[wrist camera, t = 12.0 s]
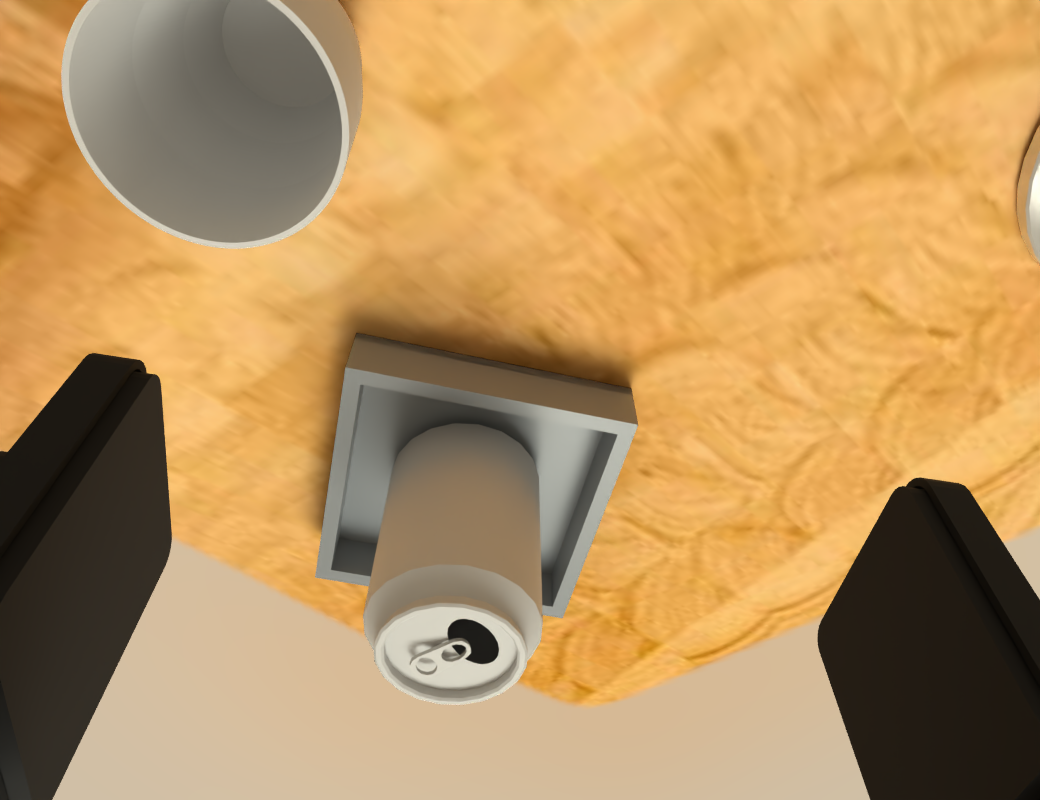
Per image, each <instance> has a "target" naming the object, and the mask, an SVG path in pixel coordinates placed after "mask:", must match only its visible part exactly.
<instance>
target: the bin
mask: <svg viewBox="0 0 1040 800" xmlns="http://www.w3.org/2000/svg"><path fill="white" fill-rule="evenodd" d="M454 423H459V424H479V425H482V426H486V427H489V428H492V429H495V430H499V431H502V432H503V433H505V434H506V435H508V436H509V437H511V438H513V439H514V440H516V441H517V442H519V443H520V444H521V445H522V446H523V447H524V449H525V450H526V451H527V452H528V454H529V455H530V456H531V457H532V458H533V460H534V463H535V466H536V469H537V472H538V475H539V498H540V538H541V579H542V615H546V616H552V617H558V618H563V616H564V613H565V610H566V608H567V605H568V603H569V600H570V598H571V595H572V593H573V590H574V587H575V585H576V582H577V580H578V577H579V575H580V572H581V570H582V567H583V564H584V562H585V559H586V557H587V554H588V552H589V549H590V547H591V544H592V542H593V539H594V536H595V534H596V531H597V529H598V526H599V524H600V521H601V519H602V516H603V513H604V511H605V508H606V506H607V503H608V501H609V498H610V496H611V493H612V490H613V488H614V485H615V483H616V480H617V478H618V475H619V473H620V470H621V467H622V465H623V462H624V460H625V457H626V455H627V452H628V450H629V447H630V444H631V442H632V439H633V437H634V434H635V432H636V429H637V427H638V421H637V416H636V411H635V405H634V400H633V394H632V389H631V388H626V387H621V386H616V385H611V384H606V383H601V382H596V381H591V380H586V379H581V378H576V377H571V376H566V375H562V374H557V373H552V372H547V371H542V370H537V369H532V368H527V367H522V366H517V365H512V364H507V363H502V362H497V361H492V360H488V359H483V358H478V357H473V356H468V355H463V354H458V353H453V352H448V351H443V350H438V349H433V348H428V347H423V346H418V345H413V344H409V343H404V342H399V341H394V340H389V339H384V338H379V337H374V336H369V335H364V334H359V333H356V336H355V339H354V342H353V345H352V349H351V352H350V355H349V358H348V361H347V364H346V368H345V375H344V382H343V389H342V396H341V402H340V409H339V416H338V423H337V430H336V437H335V444H334V451H333V458H332V465H331V472H330V479H329V485H328V492H327V499H326V506H325V513H324V520H323V527H322V534H321V541H320V548H319V555H318V562H317V569H316V575H315V577H316V578H322V579H328V580H334V581H340V582H346V583H352V584H358V585H364V586H369V584H370V579H371V574H372V569H373V564H374V558H375V553H376V548H377V543H378V538H379V533H380V528H381V523H382V518H383V513H384V508H385V503H386V498H387V493H388V488H389V483H390V478H391V472H392V469H393V466H394V464H395V461H396V459H397V456H398V453H399V452H400V451H401V450H402V449H403V448H404V447H405V446H406V445H407V444H408V443H409V442H410V440H411V439H413V438H415V437H416V436H418V435H420V434H422V433H424V432H426V431H427V430H429V429H431V428H435V427H440V426H444V425H449V424H454Z"/></svg>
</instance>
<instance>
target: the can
mask: <svg viewBox="0 0 1040 800" xmlns="http://www.w3.org/2000/svg"><path fill="white" fill-rule="evenodd" d="M363 619H364V632H365V636H366V638H367V640H368V641H369V643H370V645H371V647H372V649H373V650H374V661H375V663H376V665H377V667H378V669H379V670H380V672H381V674H382V676H383V677H384V678H385V679H386V680H388V681H389V682H390V683H391V684H392V685H393V686H394V687H396V688H397V689H398V690H400V691H402V692H404V693H406V694H408V695H410V696H412V697H415V698H417V699H420V700H425V701H428V702H433V703H437V704H455V705H456V704H457V705H463V704H469V703H475V702H480V701H484V700H487V699H489V698H492V697H494V696H497V695H499V694H501V693H503V692H505V691H506V690H507V689H508V688H510V687H511V686H512V685H514V684H515V683H516V682H517V681H518V680H519V678H520V677H521V675H522V673H523V672H524V670H525V668H526V666H527V660H529V659H530V658H531V656H532V655H533V653H534V651H535V650H536V648H537V646H538V645H539V643H540V641H541V633H542V623H543V619H542V579H541V538H540V498H539V475H538V472H537V469H536V466H535V463H534V460H533V458H532V457H531V456H530V455H529V454H528V452H527V451H526V450H525V449H524V447H523V446H522V445H521V444H520V443H519V442H517V441H516V440H514V439H513V438H511V437H509V436H508V435H506V434H505V433H503V432H502V431H499V430H495V429H492V428H489V427H486V426H482V425H479V424H459V423H454V424H449V425H444V426H440V427H435V428H431V429H429V430H427V431H426V432H424V433H422V434H420V435H418V436H416V437H415V438H413V439H411V440H410V442H409V443H408V444H407V445H406V446H405V447H404V448H403V449H402V450H401V451H400V452H399V453H398V456H397V459H396V461H395V464H394V466H393V469H392V472H391V478H390V483H389V488H388V493H387V498H386V503H385V508H384V513H383V518H382V523H381V528H380V533H379V538H378V543H377V548H376V553H375V558H374V564H373V569H372V574H371V579H370V584H369V589H368V594H367V599H366V604H365V609H364V614H363Z"/></svg>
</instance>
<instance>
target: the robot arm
mask: <svg viewBox="0 0 1040 800" xmlns="http://www.w3.org/2000/svg"><path fill="white" fill-rule="evenodd" d="M1017 217H1018V222H1019V227H1020V232H1021V237H1022V239H1023V241H1024V243H1025V245H1026V247H1027V249H1028V251H1029V253H1030V255H1031V256H1032V258H1033V259H1034V260H1035V261H1036V262H1037V263H1038V264H1039V265H1040V125H1039V127H1038V129H1037V130H1036V133H1035V135H1034V137H1033V140H1032V142H1031V144H1030V147H1029V149H1028V151H1027V154H1026V156H1025V158H1024V162H1023V166H1022V170H1021V174H1020V179H1019V183H1018V187H1017ZM171 541H172V532H171V518H170V504H169V490H168V476H167V462H166V448H165V435H164V421H163V407H162V393H161V383H160V379H159V377H158V376H157V375H155V374H148V373H146V368H145V365H144V363H143V362H142V361H140V360H136V359H129V358H122V357H116V356H109V355H103V354H96V353H92V354H89V355H87V356H86V357H85V358H84V359H83V360H82V362H81V363H80V364H79V365H78V367H77V368H76V369H75V370H74V371H73V373H72V374H71V375H70V376H69V378H68V379H67V380H66V381H65V382H64V384H63V385H62V386H61V387H60V389H59V390H58V391H57V392H56V394H55V395H54V396H53V397H52V398H51V400H50V401H49V402H48V403H47V405H46V406H45V407H44V408H43V409H42V411H41V412H40V413H39V414H38V416H37V417H36V418H35V419H34V421H33V422H32V423H31V424H30V425H29V427H28V428H27V429H26V430H25V432H24V433H23V434H22V435H21V436H20V438H19V439H18V440H17V441H16V443H15V444H14V445H13V446H12V448H11V449H10V450H9V451H8V452H4V451H0V800H52V799H53V797H54V795H55V793H56V791H57V789H58V787H59V785H60V783H61V780H62V778H63V776H64V774H65V772H66V770H67V768H68V766H69V764H70V762H71V760H72V757H73V756H74V754H75V752H76V749H77V747H78V745H79V743H80V741H81V739H82V737H83V735H84V733H85V731H86V729H87V727H88V725H89V723H90V720H91V719H92V716H93V714H94V712H95V710H96V708H97V706H98V704H99V702H100V700H101V698H102V696H103V694H104V692H105V689H106V687H107V685H108V683H109V681H110V679H111V677H112V675H113V673H114V671H115V669H116V667H117V665H118V662H119V661H120V659H121V656H122V654H123V652H124V650H125V648H126V646H127V644H128V642H129V640H130V638H131V636H132V633H133V632H134V630H135V628H136V625H137V623H138V621H139V619H140V617H141V615H142V613H143V611H144V609H145V607H146V605H147V603H148V601H149V599H150V597H151V594H152V592H153V590H154V588H155V586H156V584H157V582H158V580H159V578H160V576H161V574H162V572H163V569H164V567H165V565H166V563H167V560H168V557H169V553H170V548H171ZM818 647H819V652H820V654H821V657H822V660H823V663H824V666H825V669H826V672H827V675H828V678H829V681H830V684H831V687H832V689H833V692H834V695H835V698H836V701H837V704H838V707H839V710H840V713H841V715H842V719H843V722H844V724H845V727H846V730H847V733H848V736H849V739H850V742H851V745H852V748H853V750H854V754H855V757H856V759H857V762H858V765H859V768H860V771H861V774H862V777H863V780H864V783H865V786H866V789H867V791H868V794H869V797H870V800H1040V600H1039V598H1038V596H1037V595H1036V593H1035V592H1034V590H1033V589H1032V587H1031V586H1030V584H1029V583H1028V581H1027V579H1026V578H1025V576H1024V575H1023V573H1022V572H1021V570H1020V569H1019V567H1018V565H1017V564H1016V562H1015V561H1014V559H1013V558H1012V556H1011V555H1010V553H1009V551H1008V550H1007V548H1006V547H1005V545H1004V544H1003V542H1002V541H1001V539H1000V537H999V536H998V534H997V533H996V531H995V530H994V528H993V527H992V525H991V524H990V522H989V520H988V519H987V517H986V516H985V514H984V513H983V511H982V510H981V508H980V506H979V505H978V503H977V502H976V500H975V499H974V497H973V496H972V494H971V492H970V491H969V490H968V489H967V488H966V487H965V486H964V485H962V484H959V483H953V482H946V481H940V480H933V479H926V478H914V479H913V480H911V481H910V482H909V483H908V484H907V486H906V487H905V486H902V487H898V488H897V489H895V491H894V492H893V493H892V495H891V497H890V498H889V500H888V502H887V504H886V506H885V507H884V509H883V511H882V513H881V515H880V516H879V518H878V520H877V522H876V524H875V525H874V527H873V529H872V531H871V533H870V534H869V536H868V538H867V540H866V542H865V543H864V545H863V547H862V549H861V550H860V552H859V554H858V556H857V558H856V559H855V561H854V563H853V565H852V567H851V568H850V570H849V572H848V574H847V576H846V577H845V579H844V581H843V583H842V585H841V586H840V588H839V590H838V592H837V594H836V595H835V597H834V599H833V601H832V603H831V604H830V606H829V608H828V610H827V611H826V613H825V615H824V617H823V619H822V620H821V623H820V625H819V630H818Z"/></svg>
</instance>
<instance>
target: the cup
mask: <svg viewBox="0 0 1040 800" xmlns="http://www.w3.org/2000/svg"><path fill="white" fill-rule="evenodd" d="M62 93H63V100H64V105H65V110H66V114H67V118H68V121H69V124H70V127H71V130H72V132H73V135H74V137H75V139H76V142H77V144H78V146H79V148H80V150H81V152H82V153H83V155H84V157H85V159H86V160H87V162H88V164H89V165H90V167H91V168H92V170H93V171H94V172H95V174H96V175H97V176H98V178H99V179H100V180H101V181H102V183H103V184H104V185H105V186H106V187H107V188H108V189H109V191H110V192H111V193H112V194H113V195H114V196H115V197H116V198H117V199H118V200H119V201H121V202H122V203H123V204H124V205H125V206H126V207H127V208H129V209H130V210H131V211H132V212H134V213H135V214H136V215H138V216H139V217H141V218H142V219H143V220H145V221H147V222H148V223H150V224H151V225H153V226H155V227H157V228H159V229H160V230H162V231H164V232H166V233H169V234H171V235H173V236H175V237H178V238H181V239H183V240H186V241H189V242H193V243H196V244H200V245H205V246H210V247H217V248H231V249H239V248H251V247H258V246H263V245H267V244H271V243H274V242H277V241H279V240H282V239H284V238H287V237H289V236H291V235H292V234H294V233H296V232H298V231H299V230H301V229H302V228H304V227H305V226H306V225H308V224H309V223H310V222H311V221H312V220H314V219H315V218H316V217H317V216H318V215H319V214H320V213H321V211H322V210H323V209H324V208H325V207H326V205H327V204H328V203H329V201H330V200H331V198H332V197H333V195H334V193H335V191H336V189H337V187H338V185H339V183H340V181H341V178H342V175H343V172H344V169H345V166H346V163H347V160H348V157H349V153H350V150H351V147H352V144H353V141H354V138H355V134H356V131H357V128H358V125H359V121H360V116H361V110H362V98H363V90H362V60H361V52H360V47H359V42H358V39H357V35H356V33H355V30H354V27H353V25H352V23H351V21H350V19H349V17H348V15H347V13H346V12H345V10H344V8H343V7H342V5H341V4H340V3H339V1H338V0H88V1H87V3H86V4H85V5H84V7H83V8H82V9H81V11H80V12H79V14H78V15H77V17H76V19H75V21H74V23H73V25H72V27H71V30H70V32H69V35H68V38H67V41H66V45H65V49H64V54H63V60H62Z"/></svg>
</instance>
